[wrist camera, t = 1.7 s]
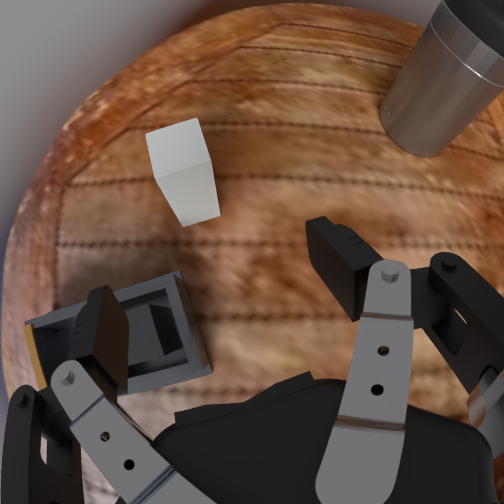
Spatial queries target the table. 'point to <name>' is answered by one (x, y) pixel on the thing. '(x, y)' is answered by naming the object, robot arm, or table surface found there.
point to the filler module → (184, 171)
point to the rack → (132, 336)
